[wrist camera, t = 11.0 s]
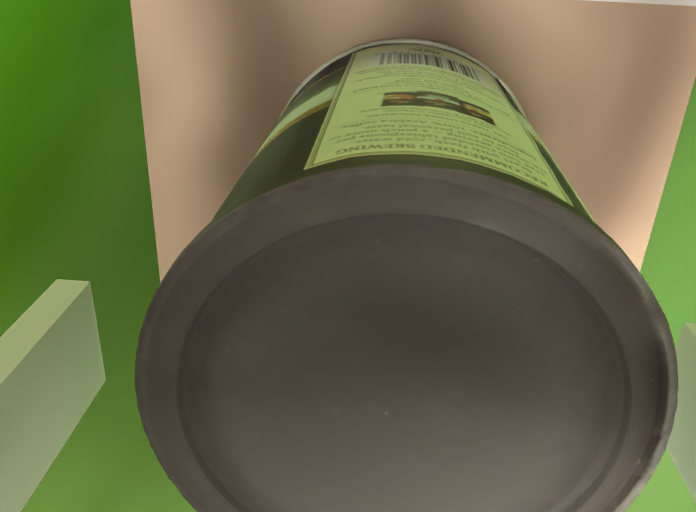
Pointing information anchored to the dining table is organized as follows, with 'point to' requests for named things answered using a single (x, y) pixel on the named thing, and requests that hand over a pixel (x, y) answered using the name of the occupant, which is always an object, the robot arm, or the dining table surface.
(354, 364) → the coffee can
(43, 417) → the robot arm
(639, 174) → the shelf board
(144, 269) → the dining table surface
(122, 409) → the dining table surface
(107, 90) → the dining table surface
